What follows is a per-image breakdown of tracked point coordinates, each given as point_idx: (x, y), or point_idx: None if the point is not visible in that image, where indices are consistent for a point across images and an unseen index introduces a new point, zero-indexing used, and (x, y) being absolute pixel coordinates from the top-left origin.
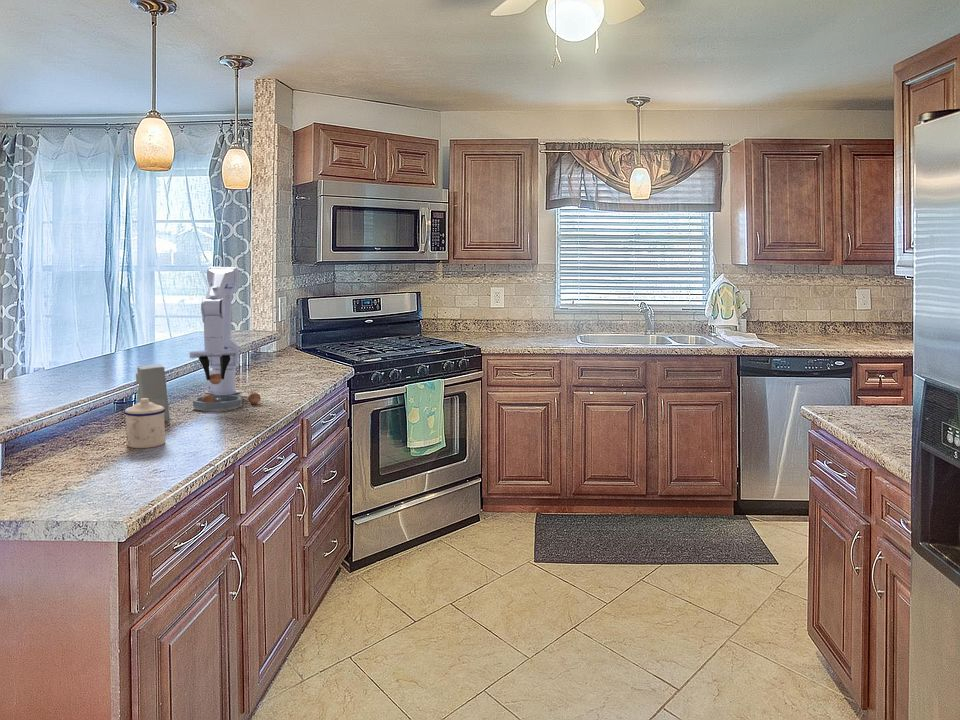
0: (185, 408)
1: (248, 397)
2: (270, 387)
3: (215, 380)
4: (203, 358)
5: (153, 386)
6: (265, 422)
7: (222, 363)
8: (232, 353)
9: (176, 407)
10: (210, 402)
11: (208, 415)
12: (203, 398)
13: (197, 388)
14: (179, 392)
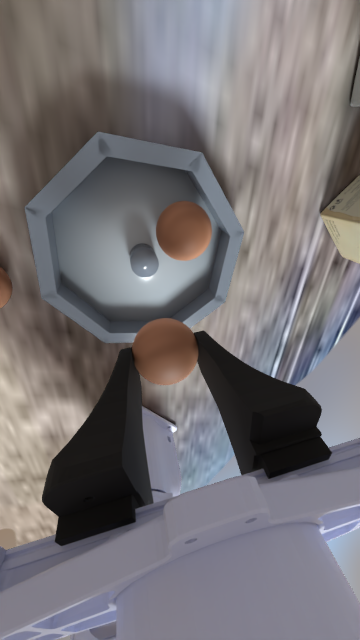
0: (249, 251)
1: (5, 284)
2: (13, 480)
3: (165, 320)
4: (294, 439)
5: None
6: None
7: (128, 424)
8: (24, 580)
9: (269, 274)
10: (176, 202)
11: (184, 32)
12: (209, 219)
13: (189, 458)
14: (226, 430)
